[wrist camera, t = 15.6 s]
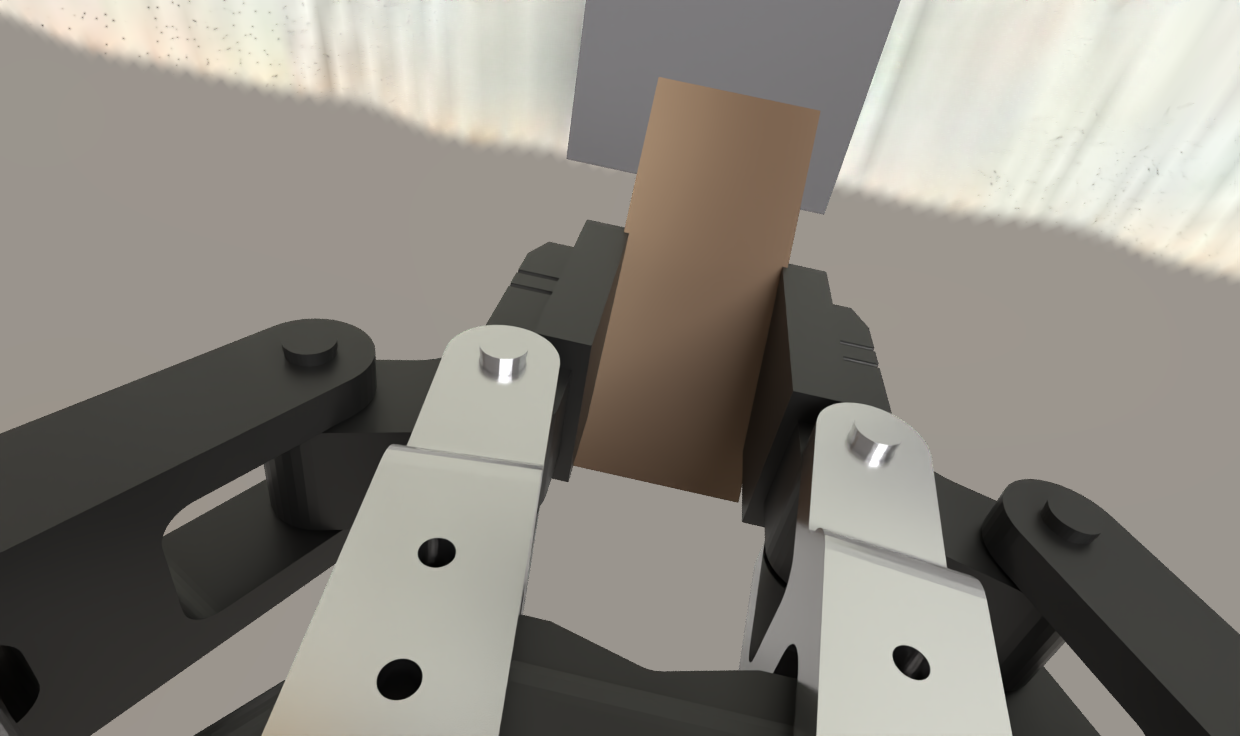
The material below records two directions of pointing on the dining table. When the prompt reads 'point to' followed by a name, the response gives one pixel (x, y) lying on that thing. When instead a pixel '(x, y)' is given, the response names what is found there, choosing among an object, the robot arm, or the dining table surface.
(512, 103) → the dining table surface
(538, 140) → the dining table surface
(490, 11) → the dining table surface
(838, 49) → the mat
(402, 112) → the dining table surface
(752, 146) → the tan rectangular plank
